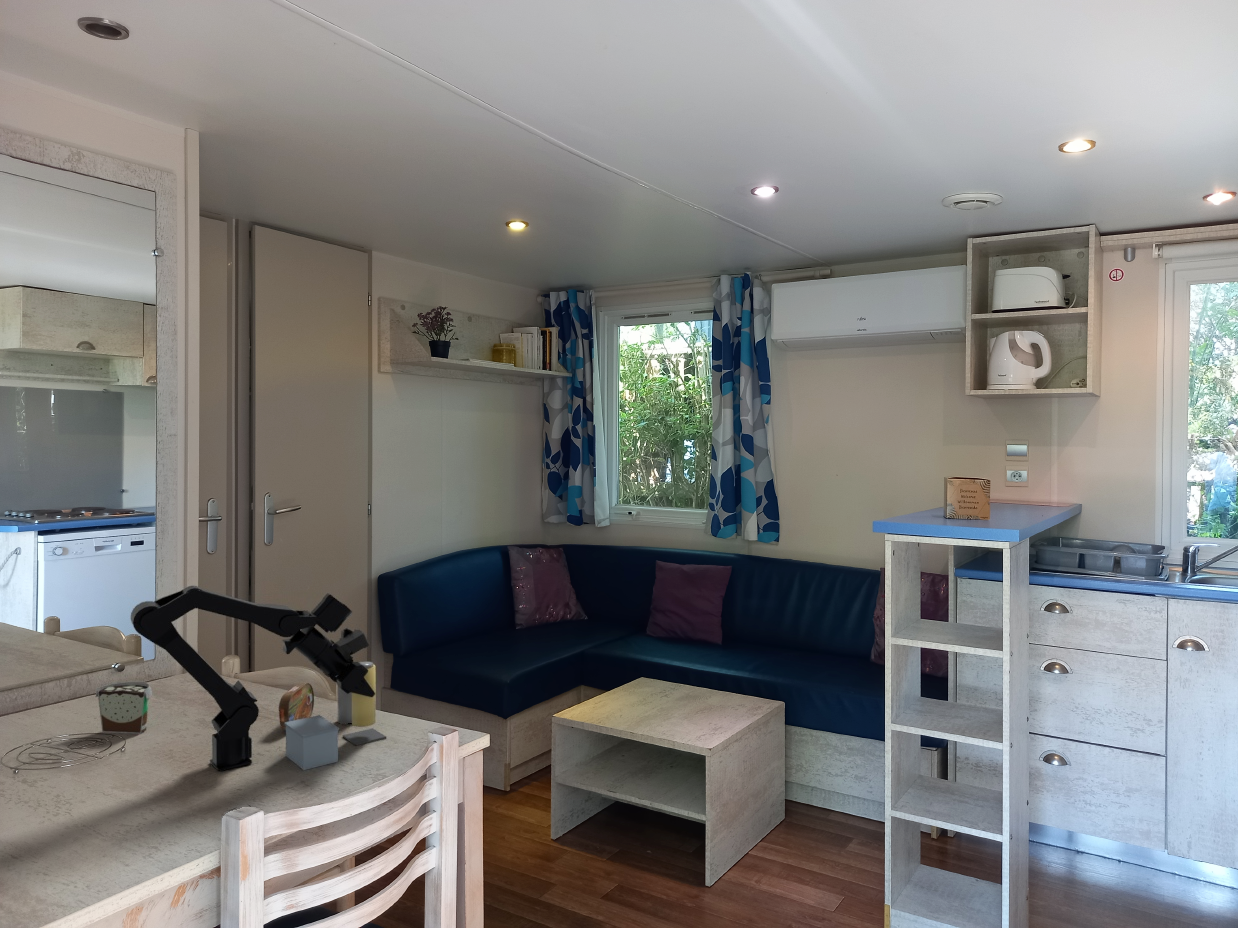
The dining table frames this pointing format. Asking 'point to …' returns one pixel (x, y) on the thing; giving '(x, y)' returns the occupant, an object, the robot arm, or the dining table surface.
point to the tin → (296, 704)
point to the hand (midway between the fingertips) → (369, 692)
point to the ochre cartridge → (365, 701)
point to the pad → (364, 736)
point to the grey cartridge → (344, 706)
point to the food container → (124, 707)
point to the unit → (311, 742)
